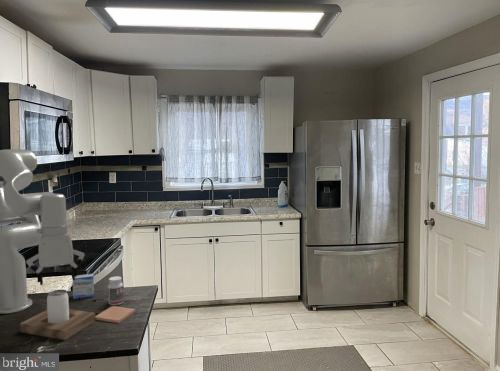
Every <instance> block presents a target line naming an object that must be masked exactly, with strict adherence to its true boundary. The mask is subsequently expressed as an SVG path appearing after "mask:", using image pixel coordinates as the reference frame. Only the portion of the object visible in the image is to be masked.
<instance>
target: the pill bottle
mask: <svg viewBox="0 0 500 371" xmlns="http://www.w3.org/2000/svg"><path fill="white" fill-rule="evenodd" d="M122 279H123V278H122V277H121V276H112V277H109V278H108V283H109V284H108V285H107V302H108V304H109V305H110V306H118V305H121V304H123V303H124V301H125V296H124V294H125V293H124V284H123V282H122V281H123V280H122Z"/></svg>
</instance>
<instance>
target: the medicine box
mask: <svg viewBox="0 0 500 371" xmlns="http://www.w3.org/2000/svg"><path fill="white" fill-rule="evenodd" d="M94 277H95V276H94V273H87V274H79V275H77V276H76V277H75V280H73V279H72V296H73V298H72V299H73V300H79V298H80V299H86V297H87V298H92V297H93V298H94V297H95V284H94V281H95V279H94Z"/></svg>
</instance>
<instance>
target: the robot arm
mask: <svg viewBox="0 0 500 371" xmlns="http://www.w3.org/2000/svg"><path fill="white" fill-rule="evenodd" d="M37 166H38V159H37V156H36V154H35V153H34V152H33V151H31V150H29V149H25V148H24V149H19V148H18V149H14V148H12V149H11V148H9V149H0V177H1V178H2V179H3V180H4V182H6V183H5V185H3V184H2V183H0V225H1V226H0V314H13V313H19V312H21V311H24V310H26V309H28V308H30V307H31V306H32V305H33V300H32V298H28V286H27V283H28V282H27V268H26V264H27V265H28V267H29V269H31V270H32V271H33V272H35V273H36V276H37V278H36V280H37V283H39V285H40V286H43V284H44V280H43V278H44V277H43V271H42V270H43V269H44V268H51V267H52V268H53V267H59V266H65V265H67V266H68V265H70V266H71V279H72V281H73V280H75V277H76V276H77V274H78V273H77V272H78V270H77V268H78V266H79V265H80V264H82V262H83V260H84V257H85V253H84V252H82V251H79V250H77V249H74V248H73V241H72V237H71V233H69V232H68V223H67V222H68V221H67V218H68V217H67V206H66V205H67V204H66V200H67V199H66V196H65V195H64V194H63V193H53V192H52V191H44V192H34V193H33V192H32V193H31V192H30V193H22V194H21V193H19V192H20V191H22V190H24V189H25V188H27V187H29V185H31V183H32V182H33V180H34V174H33V171H35V170H36V168H37ZM39 216H40V218H39ZM2 225H4V226H2ZM34 246H38V253H37V254H35V255H33V256H31V257H29V258H28V259H26V260H25V257H24V256H23V255H22V254H21V253H20V252H19V250H21V249H25V248H29V247H34ZM74 255H75V256H78V258H77V259H76V261H74ZM37 260H38V263H39V265H38V266H37V265H35V264H34V263H33V262H35V261H37Z"/></svg>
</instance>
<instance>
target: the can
mask: <svg viewBox="0 0 500 371" xmlns="http://www.w3.org/2000/svg"><path fill="white" fill-rule="evenodd" d="M46 308H47V309H46V310H47V313H48V323H52V324H58V325H60V324H61V323H63V322H65V321H67V320H68V319H69V309H70V305H69V295H68V292H67V290H66V289H62V288H61V289H54V290H51V291H49V292H48V293H47V298H46Z"/></svg>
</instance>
